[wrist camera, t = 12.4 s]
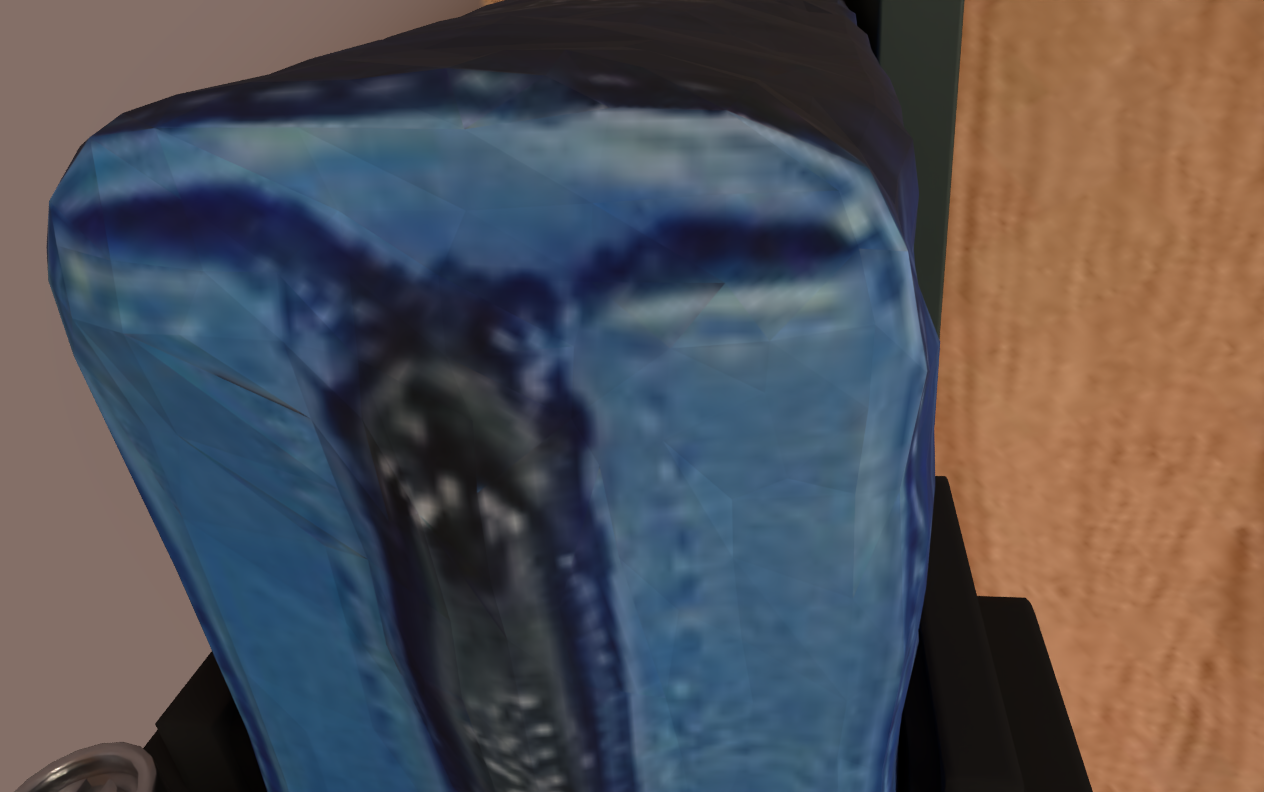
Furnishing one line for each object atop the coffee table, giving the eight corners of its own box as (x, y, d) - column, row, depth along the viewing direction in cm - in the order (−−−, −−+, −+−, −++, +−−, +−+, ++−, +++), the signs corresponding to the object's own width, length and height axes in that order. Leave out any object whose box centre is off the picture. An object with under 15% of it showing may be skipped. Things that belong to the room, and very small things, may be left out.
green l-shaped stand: (671, 389, 31) (579, 740, 18) (629, -104, 24) (429, -107, 11) (861, 387, 30) (909, 763, 17) (876, -132, 23) (977, -173, 10)
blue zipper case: (614, -97, 20) (-402, -54, 3) (853, -110, 20) (1212, -155, 2) (642, 439, 27) (366, 1361, 10) (819, 446, 26) (847, 1474, 9)
